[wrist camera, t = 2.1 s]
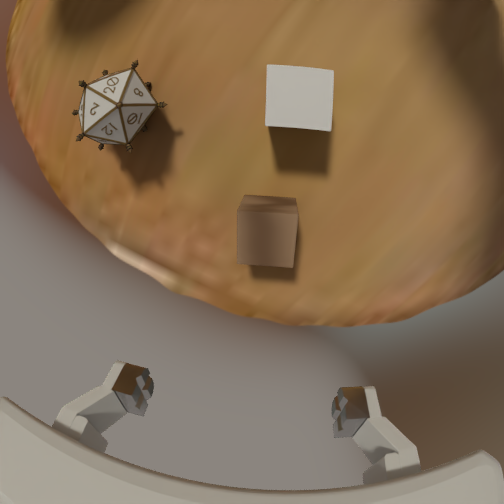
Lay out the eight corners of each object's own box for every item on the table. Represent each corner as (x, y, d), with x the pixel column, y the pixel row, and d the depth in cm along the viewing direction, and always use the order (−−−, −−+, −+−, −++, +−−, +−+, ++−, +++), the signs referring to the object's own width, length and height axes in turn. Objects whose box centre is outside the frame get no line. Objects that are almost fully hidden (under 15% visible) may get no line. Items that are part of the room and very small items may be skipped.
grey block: (323, 79, 21) (333, 70, 16) (321, 129, 23) (331, 131, 18) (269, 75, 21) (267, 64, 16) (267, 125, 23) (265, 125, 19)
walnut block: (295, 197, 26) (298, 214, 22) (291, 243, 29) (292, 267, 24) (244, 194, 27) (237, 210, 22) (244, 240, 29) (237, 263, 25)
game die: (139, 98, 26) (83, 52, 16) (196, 94, 23) (136, 29, 13) (106, 166, 26) (36, 131, 16) (158, 175, 23) (73, 125, 13)
